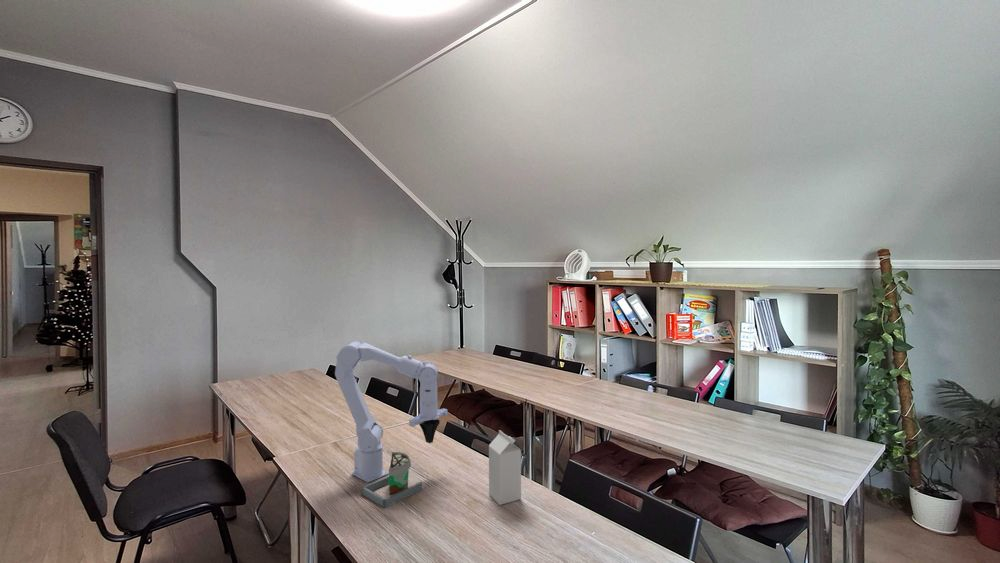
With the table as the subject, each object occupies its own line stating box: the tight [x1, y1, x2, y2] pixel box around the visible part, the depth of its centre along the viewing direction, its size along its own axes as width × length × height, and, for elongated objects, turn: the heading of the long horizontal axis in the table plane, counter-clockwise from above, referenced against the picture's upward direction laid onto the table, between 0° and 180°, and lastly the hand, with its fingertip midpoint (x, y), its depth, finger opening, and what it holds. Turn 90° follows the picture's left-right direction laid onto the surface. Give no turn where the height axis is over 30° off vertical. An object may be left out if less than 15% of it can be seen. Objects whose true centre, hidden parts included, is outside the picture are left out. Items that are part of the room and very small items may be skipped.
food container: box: [388, 451, 412, 497], centre depth 139 cm, size 12×6×10 cm, turn 9°
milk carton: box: [488, 430, 522, 506], centre depth 135 cm, size 7×7×19 cm
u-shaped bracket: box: [361, 475, 423, 508], centre depth 139 cm, size 12×14×2 cm
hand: (429, 441), depth 150 cm, fingers closed
